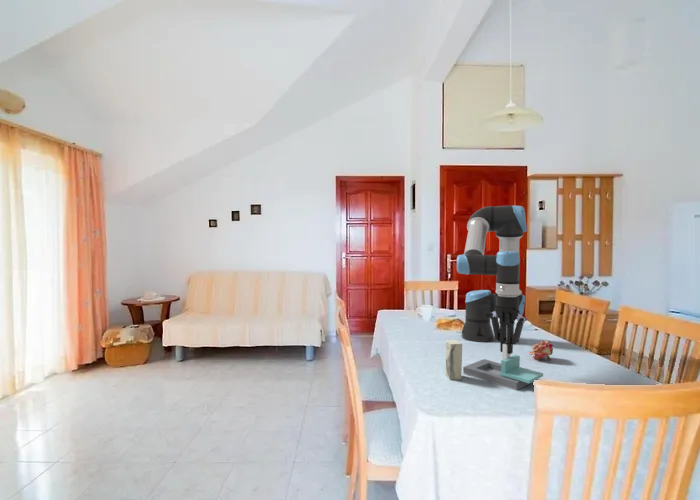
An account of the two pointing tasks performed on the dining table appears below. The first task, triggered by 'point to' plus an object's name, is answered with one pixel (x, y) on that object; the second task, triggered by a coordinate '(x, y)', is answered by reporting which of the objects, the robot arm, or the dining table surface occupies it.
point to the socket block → (492, 374)
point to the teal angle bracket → (518, 370)
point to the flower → (542, 350)
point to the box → (453, 359)
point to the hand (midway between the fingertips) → (506, 362)
